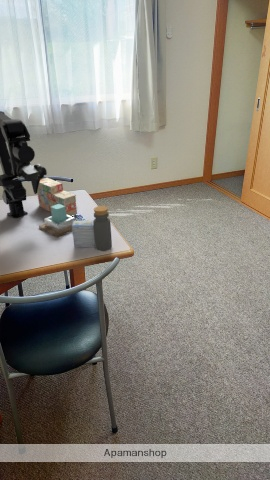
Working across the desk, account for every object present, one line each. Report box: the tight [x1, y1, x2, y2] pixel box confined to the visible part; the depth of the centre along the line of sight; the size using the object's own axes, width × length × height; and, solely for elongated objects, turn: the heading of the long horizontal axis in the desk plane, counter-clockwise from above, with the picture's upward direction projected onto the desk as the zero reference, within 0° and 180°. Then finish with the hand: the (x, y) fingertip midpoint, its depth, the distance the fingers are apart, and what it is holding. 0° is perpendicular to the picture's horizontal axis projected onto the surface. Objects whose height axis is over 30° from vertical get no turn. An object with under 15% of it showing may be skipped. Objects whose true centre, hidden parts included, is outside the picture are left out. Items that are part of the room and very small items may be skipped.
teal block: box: [50, 204, 67, 223], centre depth 139 cm, size 4×4×8 cm
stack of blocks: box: [36, 177, 78, 216], centre depth 154 cm, size 21×6×12 cm, turn 44°
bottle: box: [93, 205, 113, 252], centre depth 123 cm, size 6×6×15 cm
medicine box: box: [71, 219, 96, 248], centre depth 127 cm, size 8×4×9 cm, turn 92°
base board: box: [38, 223, 73, 238], centre depth 141 cm, size 12×12×1 cm
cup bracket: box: [43, 214, 76, 232], centre depth 141 cm, size 8×8×3 cm
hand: (25, 197), depth 136 cm, fingers open, 9 cm apart
